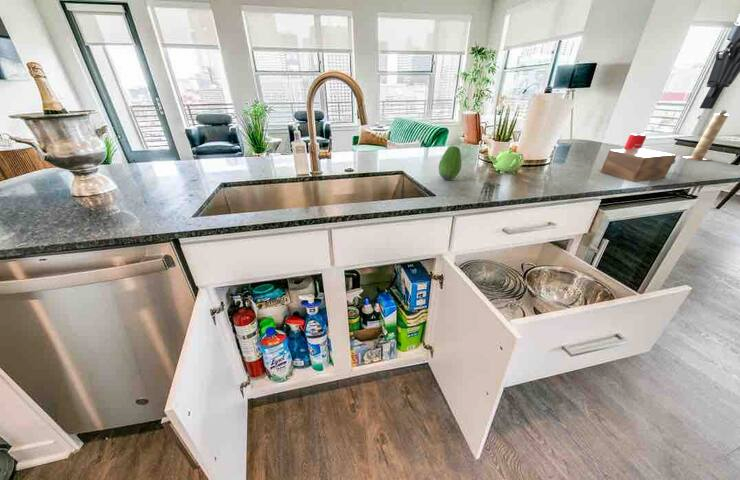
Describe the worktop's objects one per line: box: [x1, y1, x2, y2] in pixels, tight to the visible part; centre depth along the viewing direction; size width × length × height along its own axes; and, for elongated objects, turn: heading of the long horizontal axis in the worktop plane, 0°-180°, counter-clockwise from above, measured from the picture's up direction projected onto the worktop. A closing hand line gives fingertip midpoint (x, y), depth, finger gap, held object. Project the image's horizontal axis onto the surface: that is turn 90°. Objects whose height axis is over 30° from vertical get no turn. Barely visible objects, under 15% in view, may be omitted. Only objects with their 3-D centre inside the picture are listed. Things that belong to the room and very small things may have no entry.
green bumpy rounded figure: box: [488, 149, 524, 175], centre depth 107 cm, size 11×12×8 cm
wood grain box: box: [600, 147, 677, 182], centre depth 101 cm, size 14×12×8 cm
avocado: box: [438, 145, 463, 181], centre depth 98 cm, size 8×8×12 cm
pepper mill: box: [690, 109, 730, 159], centre depth 118 cm, size 4×4×20 cm
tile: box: [683, 155, 713, 162], centre depth 123 cm, size 7×7×1 cm
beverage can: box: [623, 132, 647, 149], centre depth 115 cm, size 5×5×12 cm
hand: (705, 108), depth 96 cm, fingers closed
